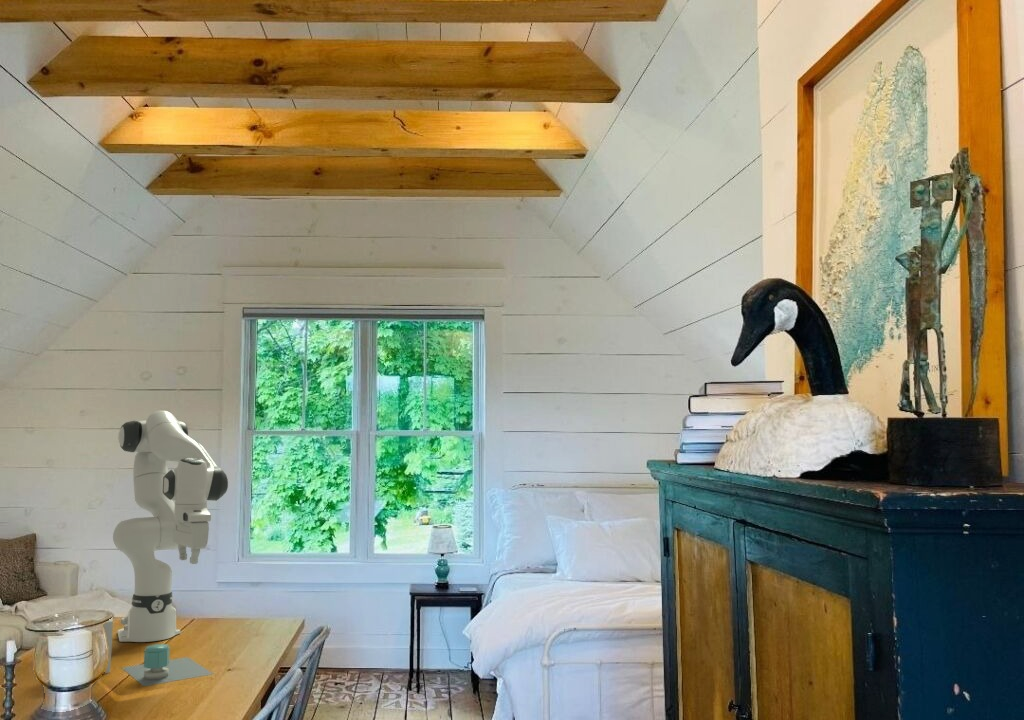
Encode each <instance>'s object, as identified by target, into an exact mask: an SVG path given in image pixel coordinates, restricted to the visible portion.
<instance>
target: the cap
mask: <svg viewBox="0 0 1024 720" xmlns="http://www.w3.org/2000/svg"><path fill="white" fill-rule="evenodd" d="M143 651H144V653H143V654H144V655H143V664H144V667H145V668H161V667H165V666H167V665H168V664H169V660H170V652H171V651H170V645H169V644H166V643H165V644H164V643H161V644H160V643H159V644H151V645H148V646H145V649H144V650H143Z"/></svg>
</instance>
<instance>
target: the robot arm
mask: <svg viewBox="0 0 1024 720" xmlns="http://www.w3.org/2000/svg"><path fill="white" fill-rule="evenodd" d="M117 439H118V443H119V446H120V448H121V449H122V450H123V451H124V452H127V453H128V452H129V453H136V454H135V456H134V459H133V460H134V461H133V469H132V472H133V474H132V476H133V477H132V478H133V492H134V493H133V494H134V502H135V503H136V504H137V506H139V508H141V509H143V510H146V511H148V512H149V513H150V514H151V515H152V516H147V517H134V518H133V517H132V518H130V519H124V520H121V521H120V522H119V523H117V525H116V526H115V528H114V530H113V533H112V534H113V535H112V541H113V544H114V546H115V547H116V548H117V549H118V550H119V551H120V552H122V553H123V554H124V555H126V557H127V558H128V559H129V560H130V563H131V565H132V568H133V571H134V572H133V573H134V593H133V594H132V598H131V607H130V609H129V610H128V612H127V614H125V615H126V616H124V617H121V618H120V624H121V626H124V627H123V628H120V629H118V630H117V637H118V641H119V642H121V643H122V642H129V643H130V642H131V643H132V642H135V643H146V642H147V643H149V642H156V641H162V640H167V639H171V638H173V637H174V636H177V635H179V634H181V629H178V628H177V609H176V608H175V607H174V606H173V605H172V602H173V592H172V576H173V575H172V574H173V573H172V572H173V571H172V568H171V566H170V565H169V564H168V563H166V562H164V561H162V560H159V559H157V558H156V557H155V551H163V550H174V549H176V550H177V549H178V554H179V555H178V556H179V560H181V561H187V559H188V553H187V548H189V549H190V552H191V555H190V557H189V564H192V565H197V564H198V563H199V556H200V554H201V550H202V549H206V548H207V545H208V541H209V540H208V539H209V534H210V532H209V531H210V524H209V522H211V520H212V514H211V513H210V511H209V510H208V501H218V500H220V499H221V498H222V497H223V496H224V495H225V494H226V493H227V491H228V488H229V481H228V479H229V478H228V476H227V474H226V472H225V471H224V470H223V469H222V468H221V467H219V466H218V465H217V464H216V463H215V461H214V460H213V459H212V457H211V455H210V454H209V453H208V452H207V450H206V449H205V447H204V446H203V445H202V444H201V443H200V442H198V441H197V440H194V439H193V438H192V437H190V433H189V429H188V426H187V424H186V423H185V422H184V421H181V420H178V418H176V416H175V415H174V414H173V413H171V412H169V411H168V410H156V411H153V412H152V413H151V414H150V415H149V416H148V417H147V418H146V420H145V419H144V420H131V421H126V422H124V423H123V424H122V425H120V429H119V432H118V437H117ZM167 462H178V463H177V467H175V468H174V469H171V470H169V468H168V463H167ZM174 501H175V502H174Z"/></svg>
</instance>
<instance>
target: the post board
mask: <svg viewBox="0 0 1024 720" xmlns="http://www.w3.org/2000/svg"><path fill="white" fill-rule="evenodd" d="M121 669H122V670H123V671H124V672H126V673H127V674H128V675H129V676H130V677H132V678H133V679H134V680H136V682H137V683H139V684H140V685H141V686H142V687H149V686H154V685H159V684H165V683H171V682H177V681H182V680H188V679H193V678H194V679H195V678H200V677H205V676H209V675H211V676H213V675H214V673H213V672H212V671H210V670H208V669H207V668H205V667H203V666H202V665H201V664H199V663H198V662H196V661H195V660H192V658H190V657H188V656H186V657H180V658H179V657H178V658H175V659H174V658H173V659H169V664H168V665H167V666H165V667H161V668H145V667H144V663H143V664H141V663H140V664H136V665H130V666H124V667H121ZM213 679H214V678H213ZM196 682H197V681H196ZM184 684H185V685H186V684H187V683H184ZM174 686H176V685H173V687H174ZM156 689H157V690H158V688H156ZM146 691H148V690H146Z"/></svg>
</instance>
